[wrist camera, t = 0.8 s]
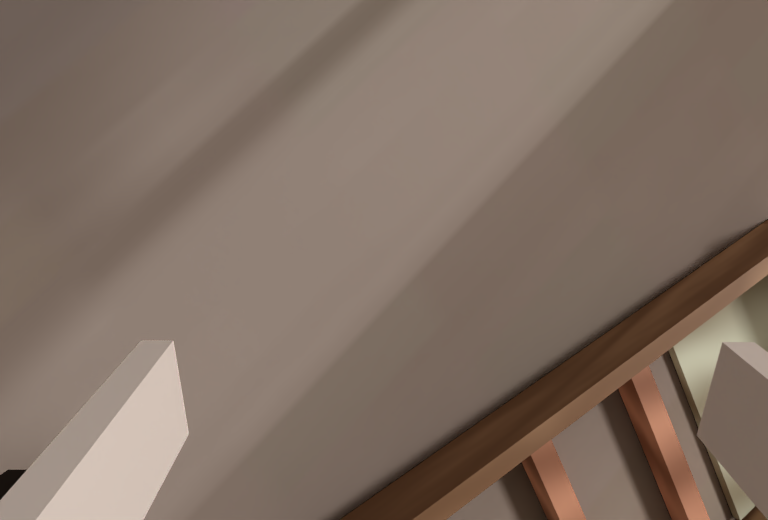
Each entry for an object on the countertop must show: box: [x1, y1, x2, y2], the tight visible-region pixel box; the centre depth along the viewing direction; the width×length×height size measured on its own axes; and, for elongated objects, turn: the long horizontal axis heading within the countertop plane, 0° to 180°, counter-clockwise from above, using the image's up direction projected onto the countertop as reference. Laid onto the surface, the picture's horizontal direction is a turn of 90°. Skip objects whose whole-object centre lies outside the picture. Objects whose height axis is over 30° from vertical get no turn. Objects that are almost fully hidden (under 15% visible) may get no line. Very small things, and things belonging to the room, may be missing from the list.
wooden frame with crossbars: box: [340, 220, 768, 520], centre depth 29 cm, size 18×40×6 cm, turn 117°
